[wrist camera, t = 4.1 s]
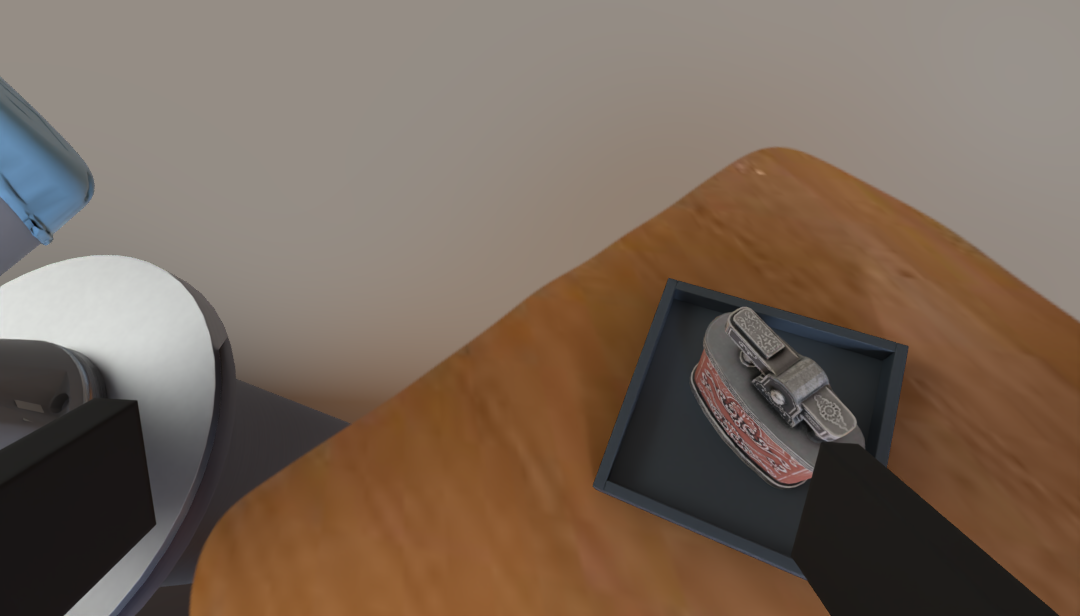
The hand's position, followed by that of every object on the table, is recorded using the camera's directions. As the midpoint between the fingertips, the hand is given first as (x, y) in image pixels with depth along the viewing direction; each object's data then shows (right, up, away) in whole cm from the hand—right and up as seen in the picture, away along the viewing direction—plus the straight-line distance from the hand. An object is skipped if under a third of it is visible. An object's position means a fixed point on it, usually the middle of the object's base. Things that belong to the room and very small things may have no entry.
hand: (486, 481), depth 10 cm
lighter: (+13, -3, +19) cm, 23 cm away
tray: (+13, -3, +19) cm, 23 cm away
